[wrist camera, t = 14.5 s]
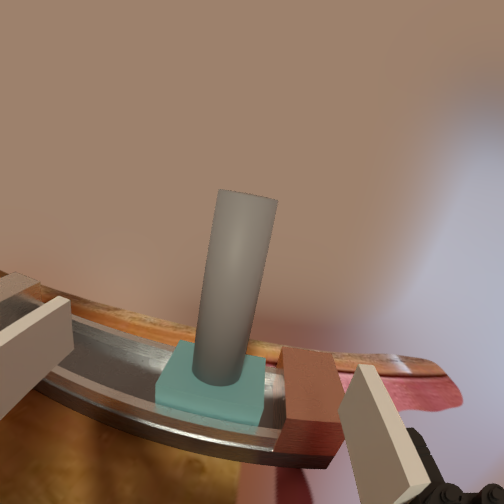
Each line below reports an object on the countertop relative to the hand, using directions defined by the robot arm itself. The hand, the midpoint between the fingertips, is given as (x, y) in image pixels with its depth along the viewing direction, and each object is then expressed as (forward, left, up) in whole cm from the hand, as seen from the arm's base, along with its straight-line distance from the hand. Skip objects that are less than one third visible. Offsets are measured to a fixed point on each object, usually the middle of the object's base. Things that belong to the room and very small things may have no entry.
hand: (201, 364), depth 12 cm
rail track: (-12, +5, -12) cm, 18 cm away
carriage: (-4, +9, -10) cm, 14 cm away
